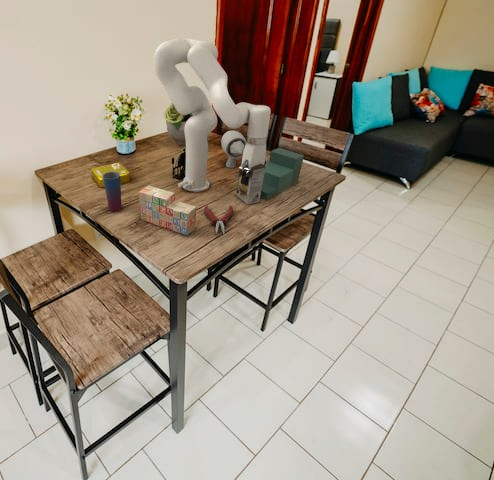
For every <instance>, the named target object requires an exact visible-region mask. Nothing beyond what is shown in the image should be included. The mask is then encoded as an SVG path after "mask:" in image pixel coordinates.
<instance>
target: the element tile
mask: <svg viewBox="0 0 494 480" xmlns="http://www.w3.org/2000/svg"><path fill="white" fill-rule="evenodd" d="M112 171H114V172H118V173H120V180H121V185H122V184H126V183H129V182H131V173H130V171H129V170H128V169H127V168H126V167H125V166H124V165H123V164H122V163H121V162H114V163H110V164H104V165H100V166H95V167H92V168H91V175H92V176H91V177H92V178H93V180H94V181H95V182H96V184H97V185H98V186H99V187H100V188H105V186H104V181H103V174H104V173H106V172H112Z"/></svg>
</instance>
